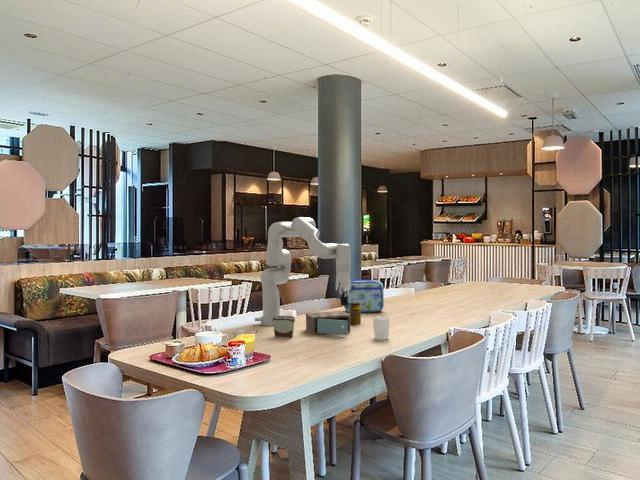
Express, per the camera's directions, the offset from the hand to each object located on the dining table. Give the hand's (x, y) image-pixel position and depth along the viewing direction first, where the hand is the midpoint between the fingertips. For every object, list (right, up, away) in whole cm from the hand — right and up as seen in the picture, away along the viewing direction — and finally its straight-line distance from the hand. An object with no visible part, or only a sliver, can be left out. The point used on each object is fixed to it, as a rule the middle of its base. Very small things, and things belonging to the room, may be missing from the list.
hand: (344, 304), depth 262 cm
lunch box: (+16, -14, +75) cm, 78 cm away
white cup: (+18, -16, -8) cm, 25 cm away
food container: (-29, -16, 0) cm, 34 cm away
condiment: (+7, -15, +32) cm, 36 cm away
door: (-6, -15, -1) cm, 16 cm away
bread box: (-8, -15, +12) cm, 21 cm away
